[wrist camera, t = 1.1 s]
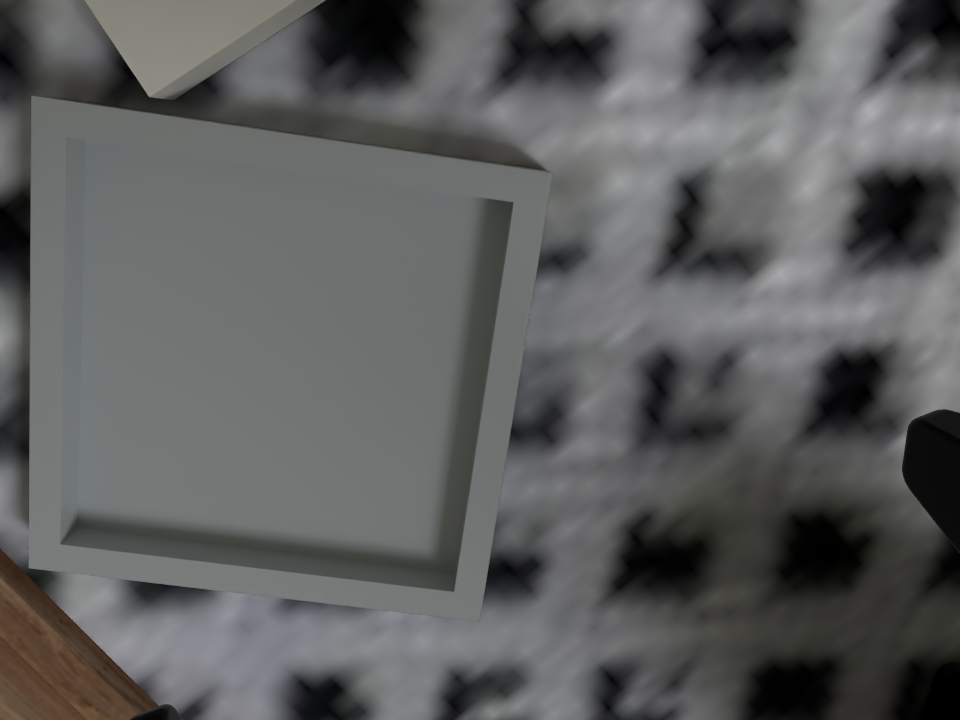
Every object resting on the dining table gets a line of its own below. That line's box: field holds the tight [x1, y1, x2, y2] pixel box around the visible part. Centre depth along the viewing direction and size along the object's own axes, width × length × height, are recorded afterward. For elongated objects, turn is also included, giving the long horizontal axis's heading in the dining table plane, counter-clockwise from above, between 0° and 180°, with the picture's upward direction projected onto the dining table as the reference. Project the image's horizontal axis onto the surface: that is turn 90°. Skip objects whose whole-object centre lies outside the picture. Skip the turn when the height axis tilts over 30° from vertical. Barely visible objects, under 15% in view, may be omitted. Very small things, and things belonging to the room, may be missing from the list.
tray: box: [29, 96, 553, 622], centre depth 21 cm, size 12×12×1 cm
